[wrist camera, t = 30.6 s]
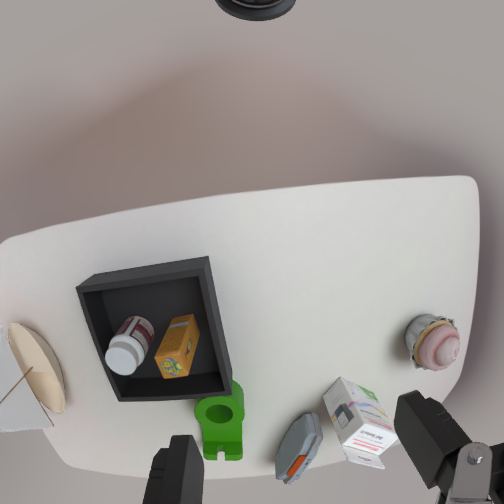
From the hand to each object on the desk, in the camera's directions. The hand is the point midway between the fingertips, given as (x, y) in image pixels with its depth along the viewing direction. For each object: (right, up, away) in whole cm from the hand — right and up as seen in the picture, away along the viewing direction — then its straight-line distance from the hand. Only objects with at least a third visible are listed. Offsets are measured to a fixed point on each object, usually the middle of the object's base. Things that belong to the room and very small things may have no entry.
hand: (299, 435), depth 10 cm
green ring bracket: (-7, -19, +35) cm, 40 cm away
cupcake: (+26, -6, +34) cm, 43 cm away
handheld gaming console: (+5, -25, +37) cm, 45 cm away
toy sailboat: (-37, -11, +31) cm, 50 cm away
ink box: (+14, -17, +35) cm, 42 cm away
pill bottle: (-18, -4, +30) cm, 35 cm away
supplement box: (-11, -3, +30) cm, 32 cm away
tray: (-14, -3, +31) cm, 34 cm away
